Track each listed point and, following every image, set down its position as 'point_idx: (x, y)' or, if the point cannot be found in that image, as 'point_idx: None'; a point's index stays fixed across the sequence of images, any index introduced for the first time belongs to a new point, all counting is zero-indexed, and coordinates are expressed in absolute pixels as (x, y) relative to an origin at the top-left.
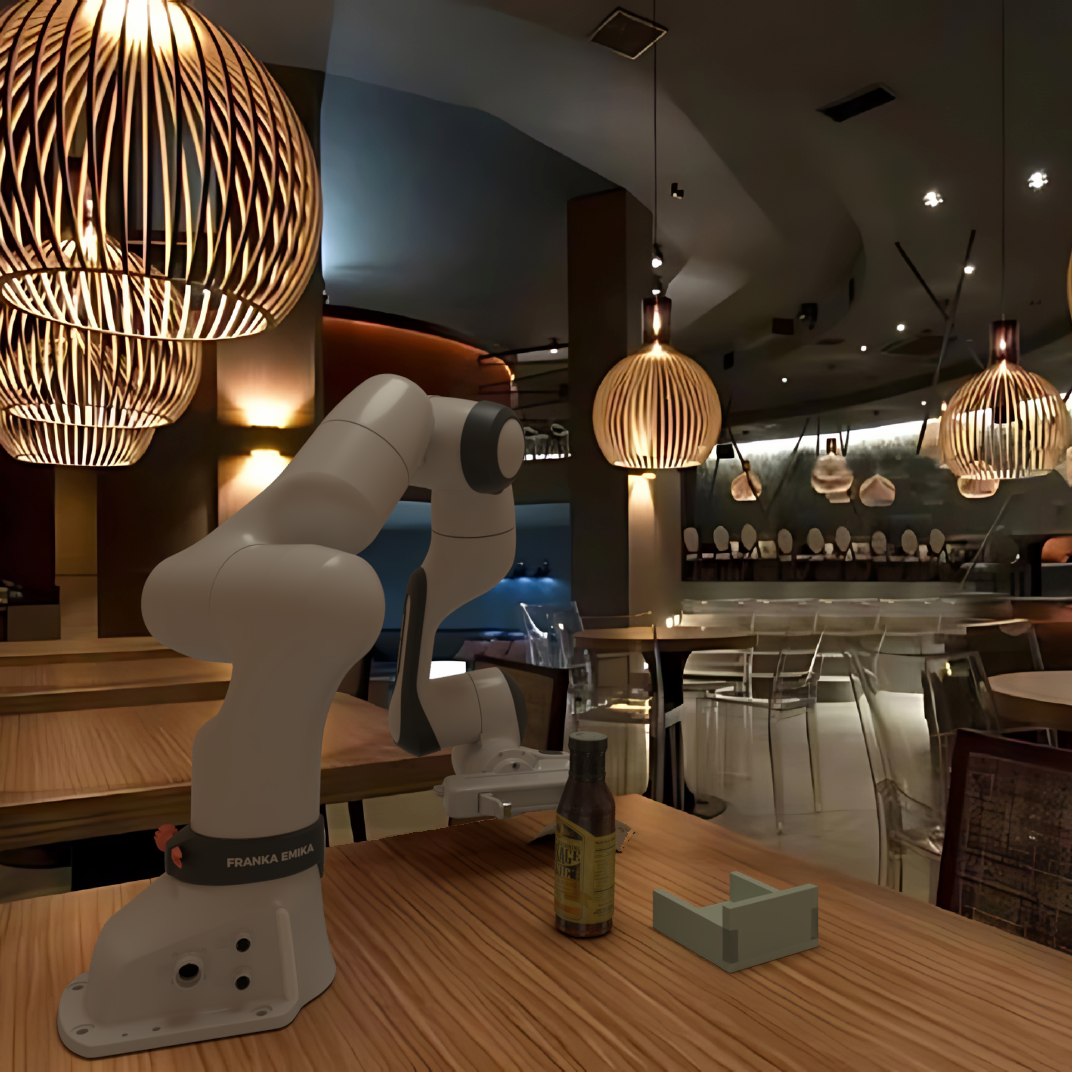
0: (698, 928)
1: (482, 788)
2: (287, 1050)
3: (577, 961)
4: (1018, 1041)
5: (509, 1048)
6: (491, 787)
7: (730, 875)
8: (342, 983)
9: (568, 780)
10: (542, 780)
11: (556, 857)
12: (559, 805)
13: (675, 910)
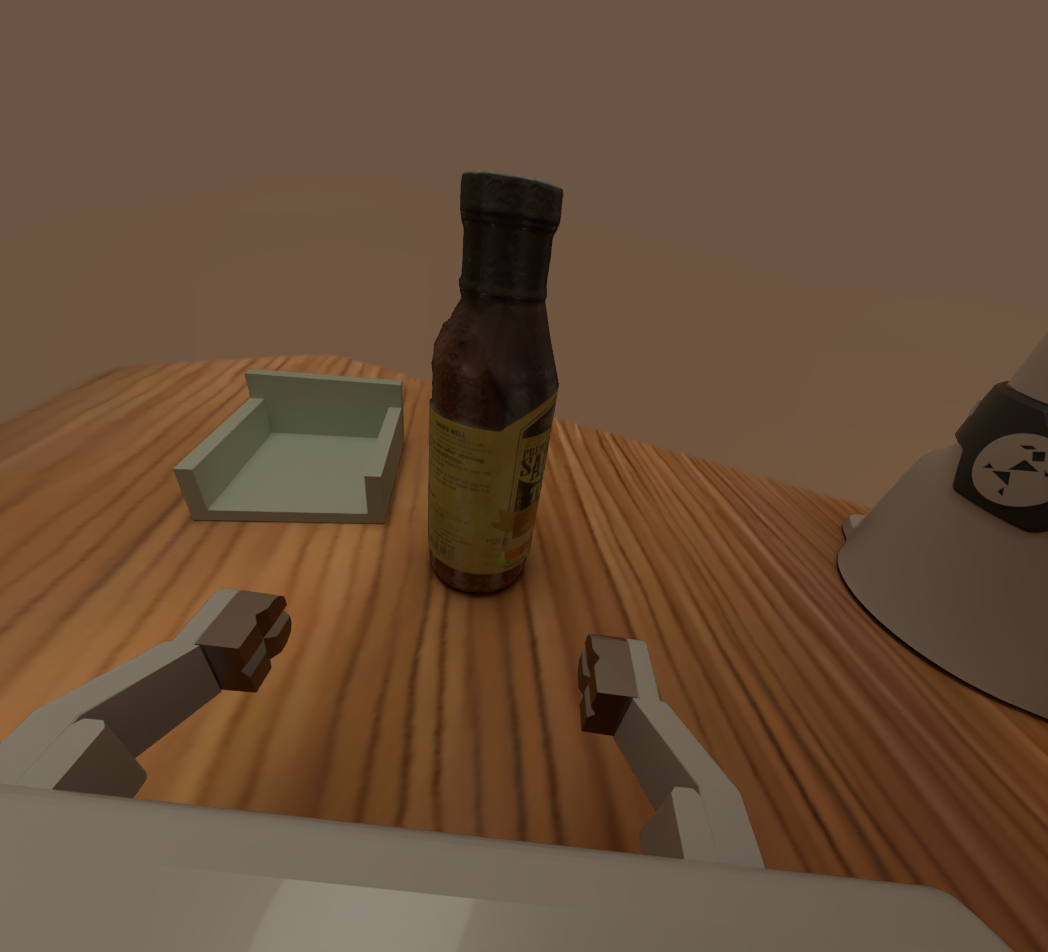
0: (396, 441)
1: (759, 871)
2: (821, 502)
3: None
4: (323, 361)
5: (640, 450)
6: (690, 865)
7: (195, 471)
8: (824, 567)
9: (545, 311)
10: (223, 862)
11: (544, 466)
12: (555, 372)
13: (390, 457)
